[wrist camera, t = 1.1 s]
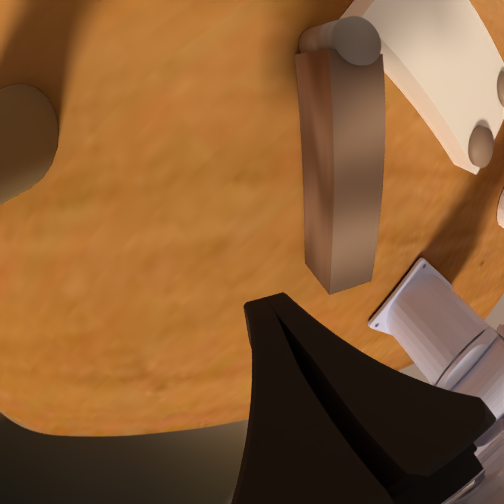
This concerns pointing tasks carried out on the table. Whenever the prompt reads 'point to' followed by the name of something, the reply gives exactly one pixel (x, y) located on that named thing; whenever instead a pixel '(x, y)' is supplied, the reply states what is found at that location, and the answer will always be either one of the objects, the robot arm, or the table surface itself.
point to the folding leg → (341, 148)
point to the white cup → (501, 210)
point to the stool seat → (443, 70)
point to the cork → (25, 138)
